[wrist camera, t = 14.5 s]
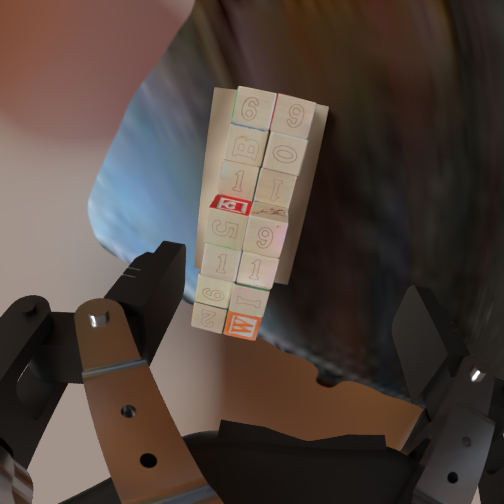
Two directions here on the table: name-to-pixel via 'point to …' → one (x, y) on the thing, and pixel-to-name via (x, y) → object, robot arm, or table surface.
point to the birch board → (212, 170)
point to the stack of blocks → (251, 210)
